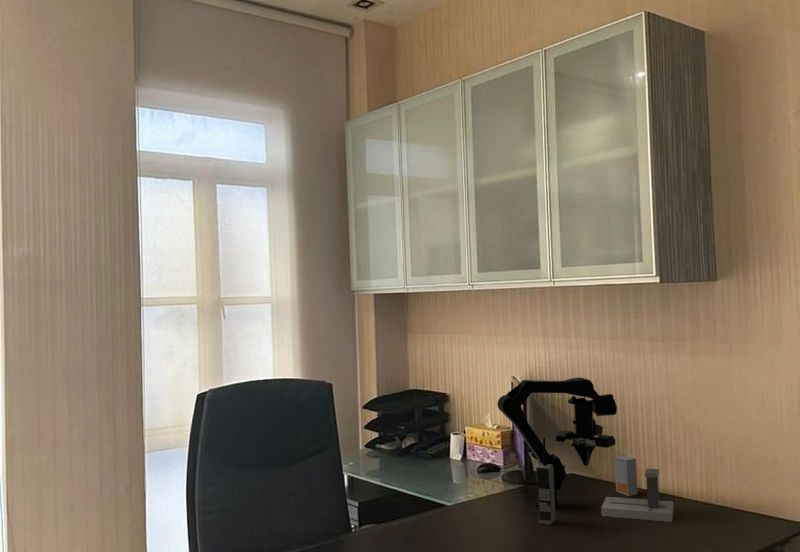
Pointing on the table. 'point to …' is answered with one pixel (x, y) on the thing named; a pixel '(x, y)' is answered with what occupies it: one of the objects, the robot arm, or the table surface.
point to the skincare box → (626, 475)
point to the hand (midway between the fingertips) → (586, 465)
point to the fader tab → (652, 487)
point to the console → (637, 509)
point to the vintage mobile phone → (546, 491)
